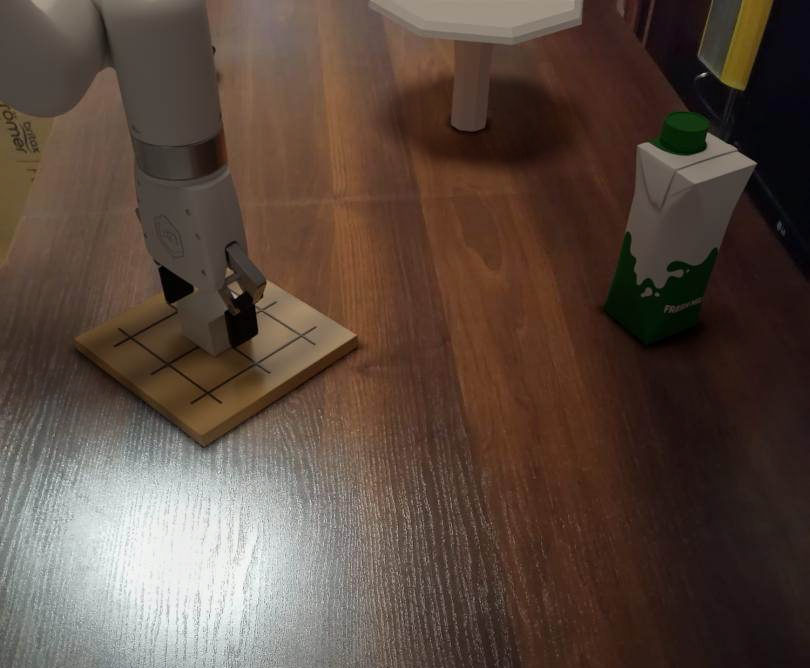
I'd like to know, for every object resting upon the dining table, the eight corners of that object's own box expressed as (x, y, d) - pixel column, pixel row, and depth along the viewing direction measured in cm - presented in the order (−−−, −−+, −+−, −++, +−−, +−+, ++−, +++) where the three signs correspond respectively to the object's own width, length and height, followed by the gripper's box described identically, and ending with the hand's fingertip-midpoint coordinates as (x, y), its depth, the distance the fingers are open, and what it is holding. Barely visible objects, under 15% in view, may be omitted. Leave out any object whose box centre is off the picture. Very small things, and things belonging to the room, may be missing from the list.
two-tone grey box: (183, 335, 86) (175, 302, 83) (220, 314, 88) (214, 280, 85) (214, 357, 84) (207, 323, 81) (251, 334, 86) (246, 301, 83)
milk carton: (652, 284, 96) (705, 99, 80) (709, 328, 91) (777, 141, 75) (590, 307, 93) (632, 120, 77) (646, 354, 88) (702, 165, 72)
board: (77, 350, 87) (72, 337, 86) (230, 267, 96) (228, 254, 95) (204, 447, 78) (201, 434, 77) (358, 346, 88) (357, 333, 87)
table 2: (512, 197, 107) (530, 53, 94) (326, 136, 115) (319, -3, 102) (602, 110, 122) (629, -24, 109) (432, 61, 131) (437, -68, 118)
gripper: (80, 126, 73) (126, 297, 86) (212, 203, 66) (240, 377, 79) (152, 98, 76) (186, 266, 90) (284, 168, 69) (300, 340, 83)
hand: (211, 318), depth 84 cm, fingers open, 9 cm apart
